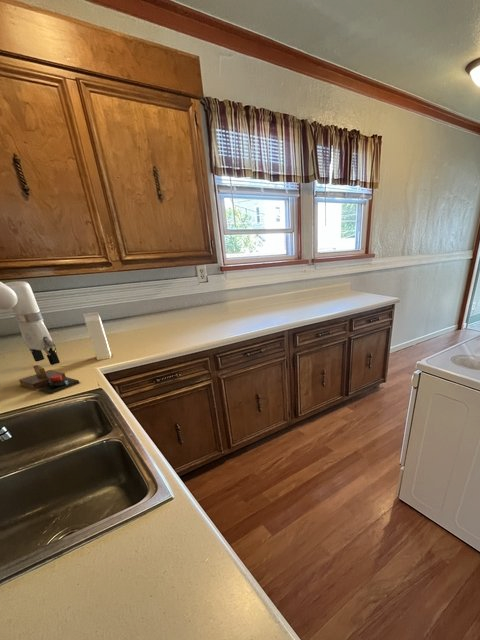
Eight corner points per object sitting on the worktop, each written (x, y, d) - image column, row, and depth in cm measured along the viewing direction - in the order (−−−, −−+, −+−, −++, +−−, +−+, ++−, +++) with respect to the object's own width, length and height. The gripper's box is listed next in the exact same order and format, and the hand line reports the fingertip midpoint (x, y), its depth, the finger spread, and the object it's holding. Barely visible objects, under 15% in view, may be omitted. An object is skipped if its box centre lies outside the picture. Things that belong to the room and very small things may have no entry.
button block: (51, 394, 123) (48, 386, 122) (39, 391, 127) (36, 383, 125) (79, 384, 132) (77, 376, 131) (68, 380, 135) (65, 373, 134)
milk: (98, 357, 162) (83, 312, 152) (111, 355, 164) (98, 310, 154) (97, 360, 157) (82, 314, 147) (111, 358, 159) (97, 313, 149)
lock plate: (35, 391, 127) (32, 383, 125) (21, 386, 131) (18, 379, 129) (67, 379, 136) (64, 372, 135) (52, 376, 140) (50, 369, 139)
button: (55, 382, 126) (53, 378, 125) (49, 381, 127) (48, 377, 126) (64, 379, 129) (63, 375, 128) (59, 378, 130) (57, 374, 129)
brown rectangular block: (47, 377, 131) (43, 367, 129) (43, 378, 130) (39, 368, 128) (41, 374, 134) (37, 364, 132) (36, 375, 133) (32, 365, 131)
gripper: (4, 318, 118) (24, 362, 126) (32, 322, 112) (51, 368, 120) (26, 313, 124) (44, 356, 132) (54, 317, 118) (71, 361, 126)
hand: (47, 362), depth 126 cm, fingers open, 9 cm apart
